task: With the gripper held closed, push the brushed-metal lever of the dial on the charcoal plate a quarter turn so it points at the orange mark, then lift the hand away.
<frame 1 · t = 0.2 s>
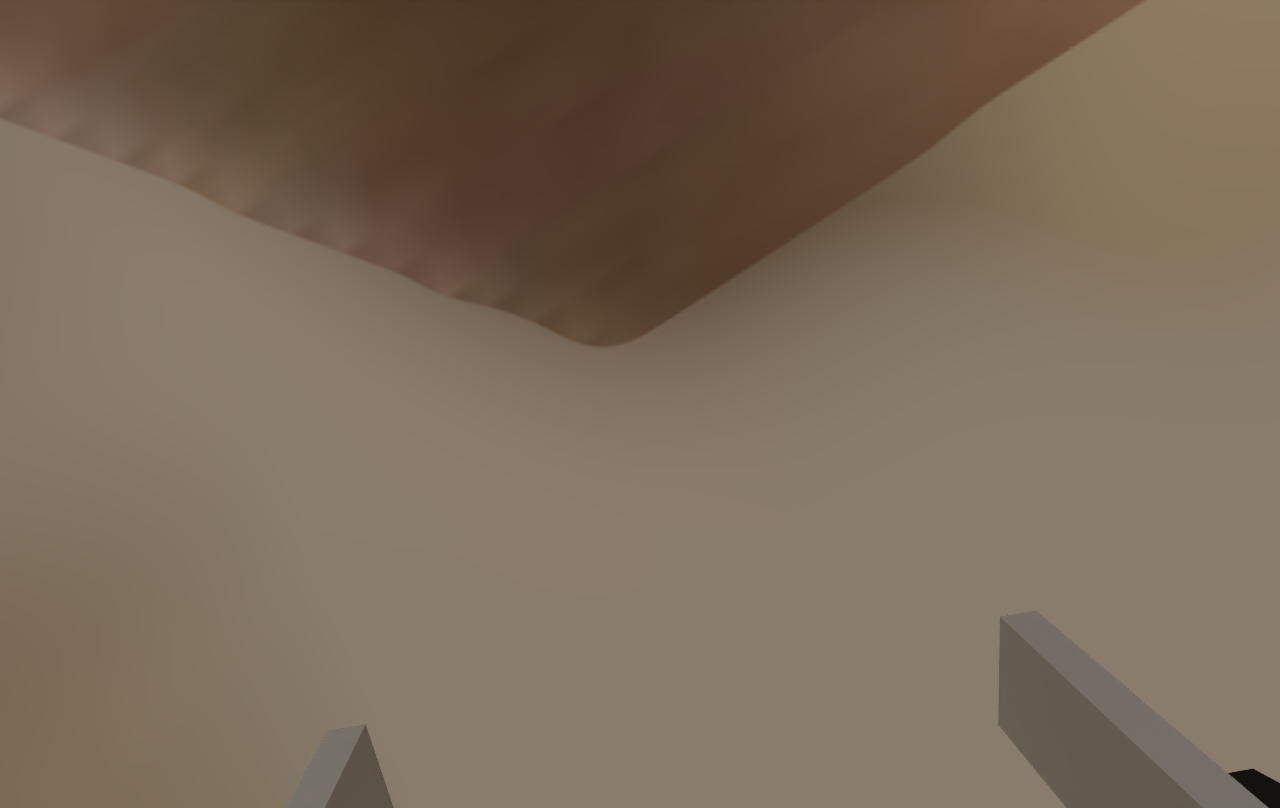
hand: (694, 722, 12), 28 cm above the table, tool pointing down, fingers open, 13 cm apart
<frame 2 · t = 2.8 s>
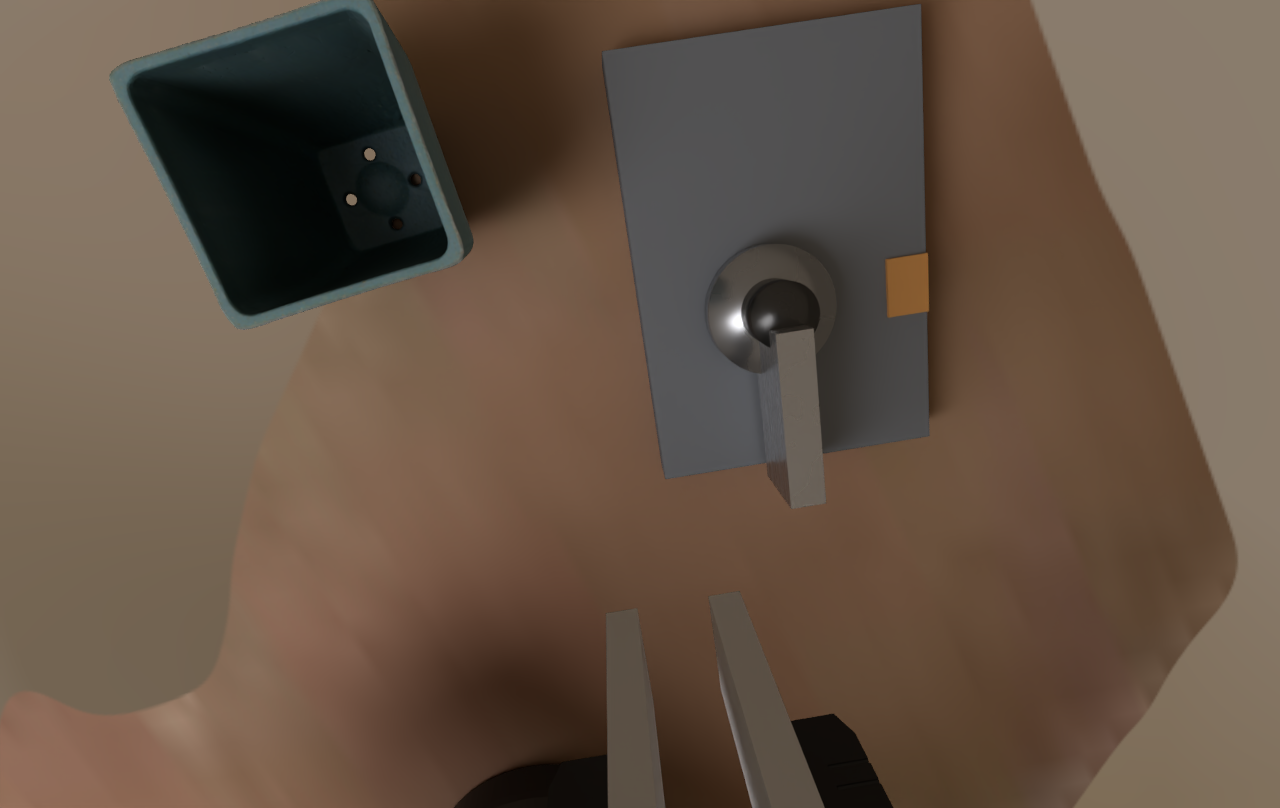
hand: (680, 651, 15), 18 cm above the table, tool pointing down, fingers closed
dial lever: (784, 372, 28), point 4 cm above the table, hinge at 0.0°
flower pot: (389, 192, 29), on the table
dial plate: (770, 261, 30), on the table
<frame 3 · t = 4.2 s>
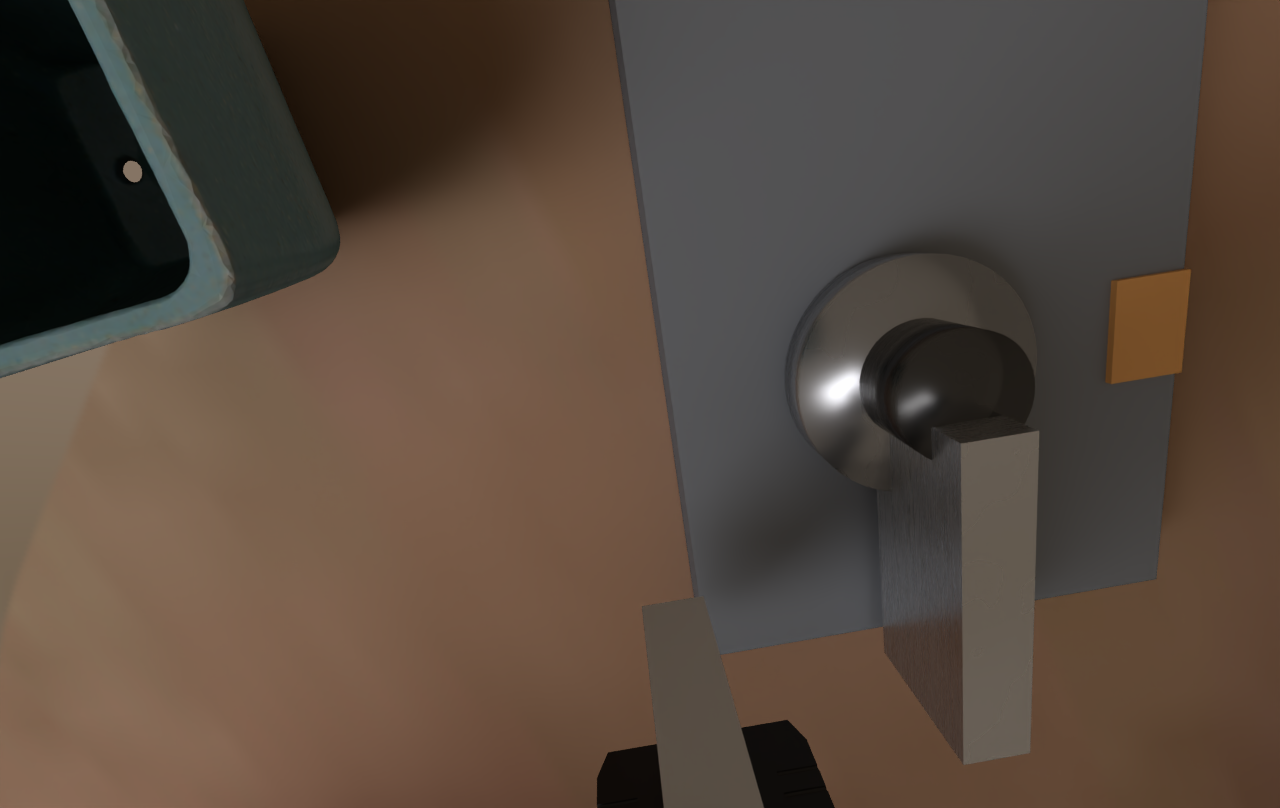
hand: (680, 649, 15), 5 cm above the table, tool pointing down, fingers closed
dial lever: (942, 496, 15), point 4 cm above the table, hinge at 0.0°
flower pot: (208, 158, 16), on the table
dial plate: (890, 282, 18), on the table
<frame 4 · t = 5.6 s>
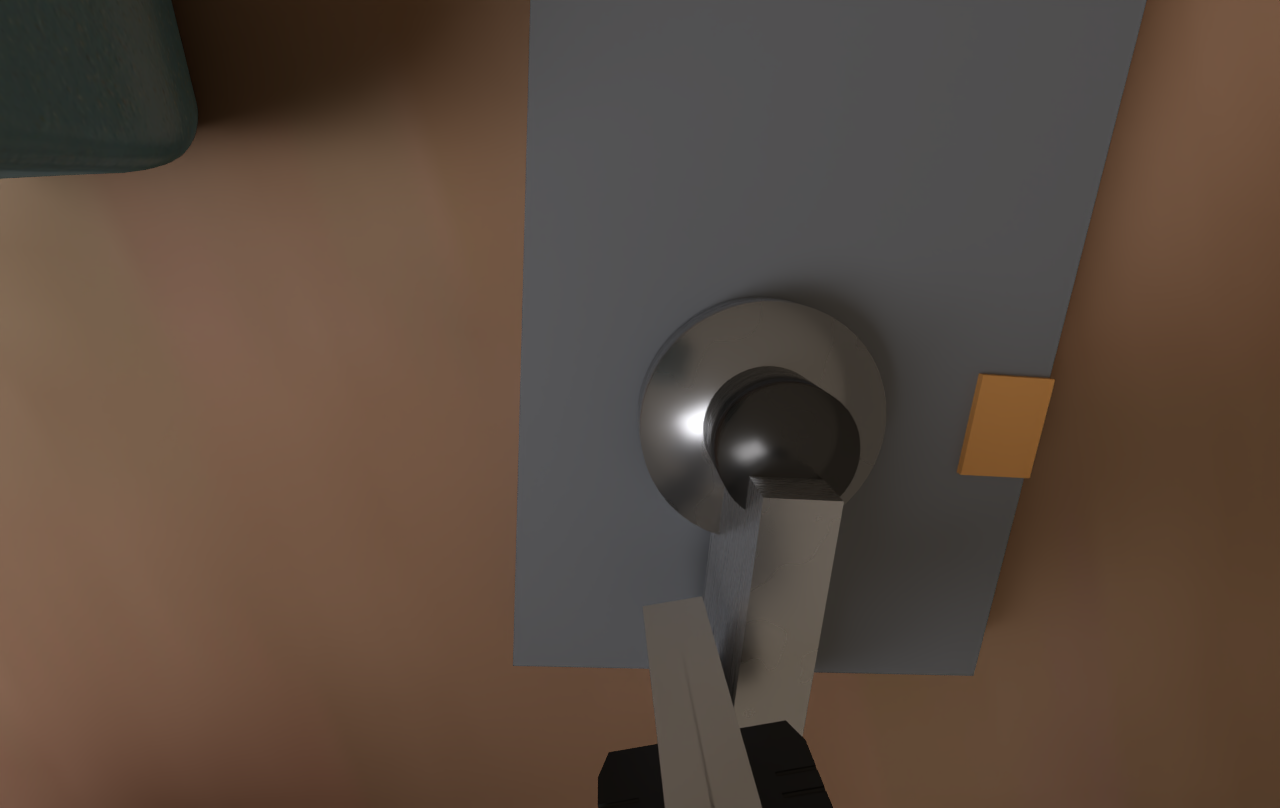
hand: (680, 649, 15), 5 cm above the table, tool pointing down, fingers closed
dial lever: (760, 549, 14), point 4 cm above the table, hinge at 0.0°, touching gripper
flower pot: (81, 29, 15), on the table
dial plate: (776, 327, 17), on the table
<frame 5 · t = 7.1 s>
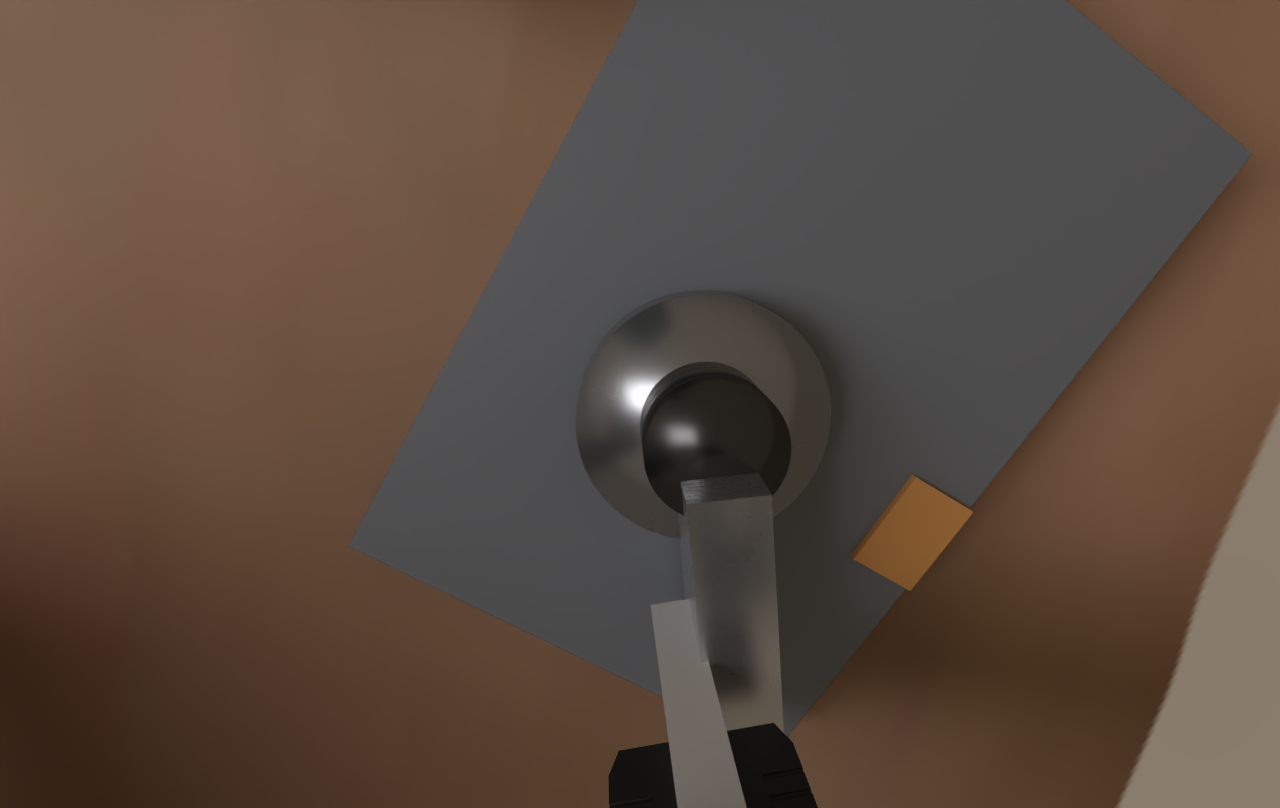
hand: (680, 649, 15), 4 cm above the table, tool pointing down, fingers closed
dial lever: (718, 549, 14), point 4 cm above the table, hinge at 37.3°, touching gripper
dial plate: (754, 348, 17), on the table
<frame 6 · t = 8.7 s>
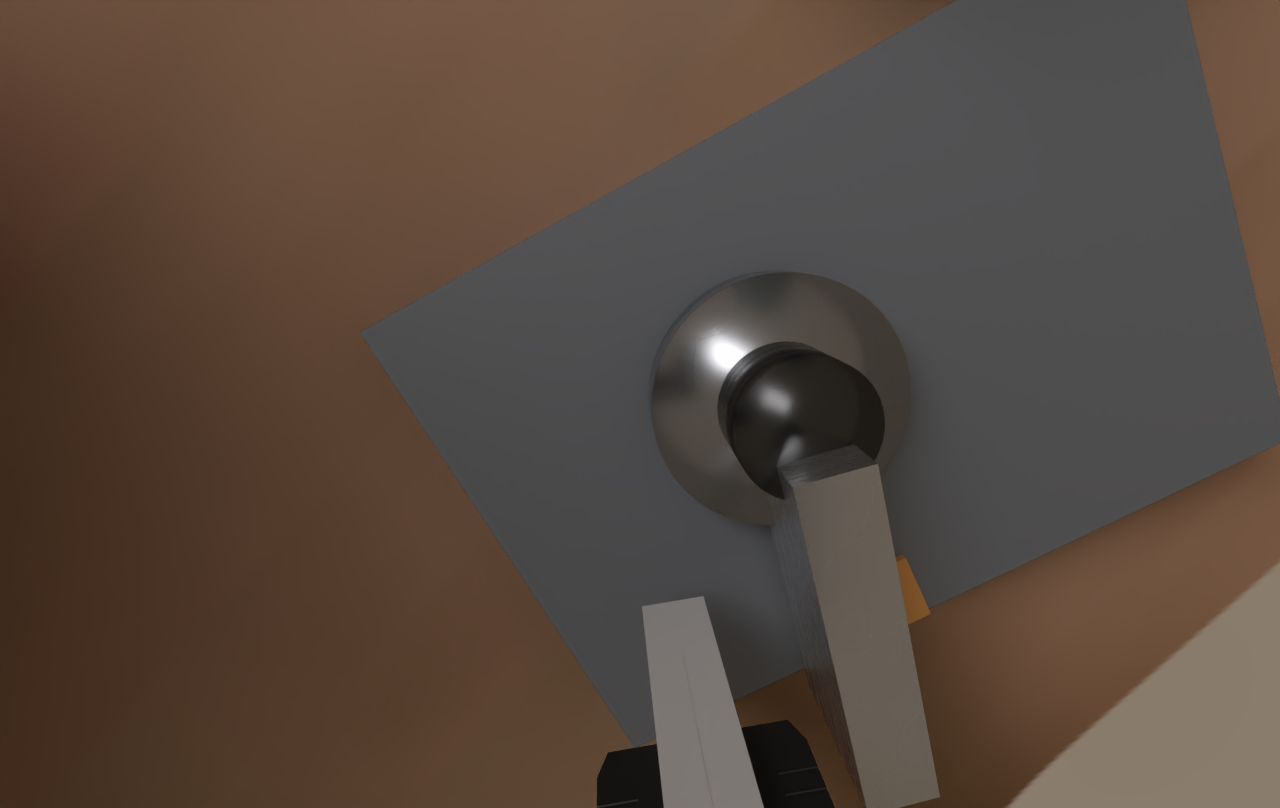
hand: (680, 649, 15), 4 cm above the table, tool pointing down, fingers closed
dial lever: (819, 529, 14), point 4 cm above the table, hinge at 78.0°
dial plate: (826, 372, 17), on the table
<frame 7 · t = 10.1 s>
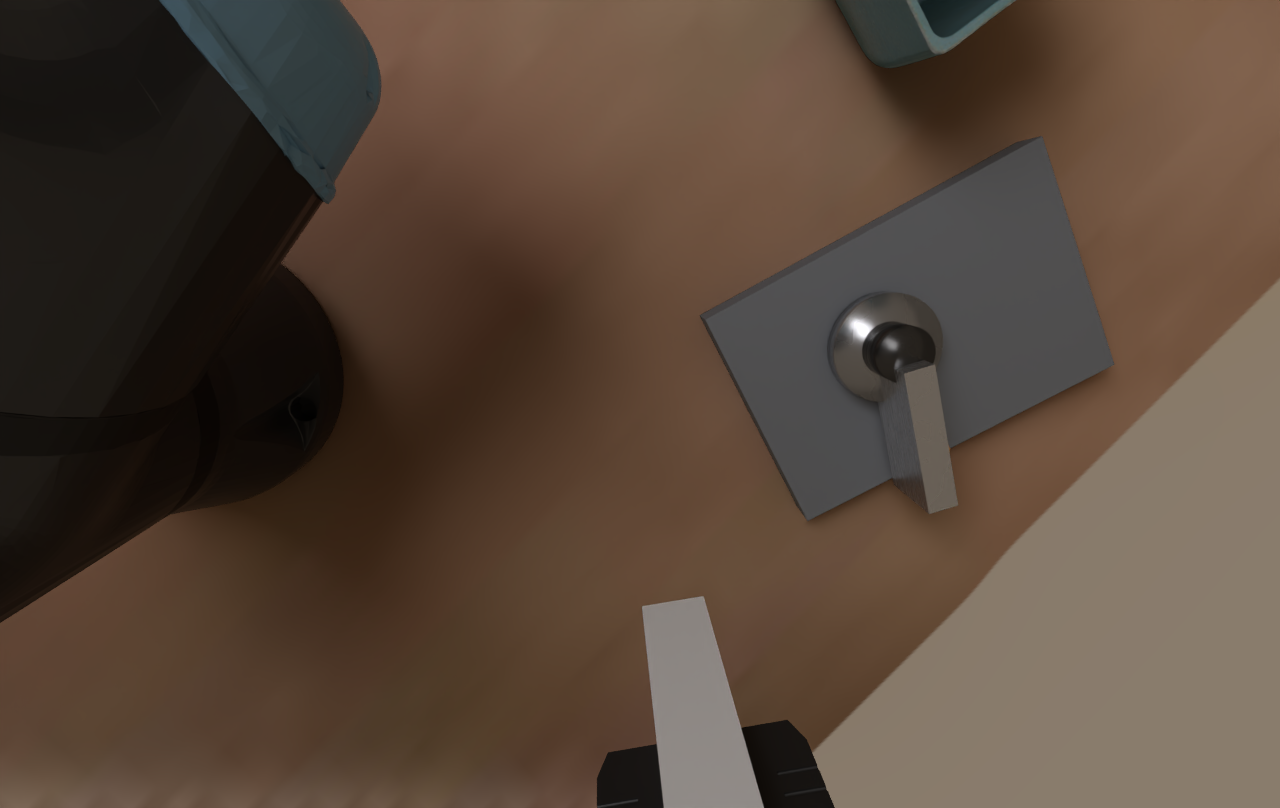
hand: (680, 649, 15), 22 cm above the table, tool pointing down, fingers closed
dial lever: (905, 399, 32), point 4 cm above the table, hinge at 78.1°
dial plate: (899, 337, 36), on the table
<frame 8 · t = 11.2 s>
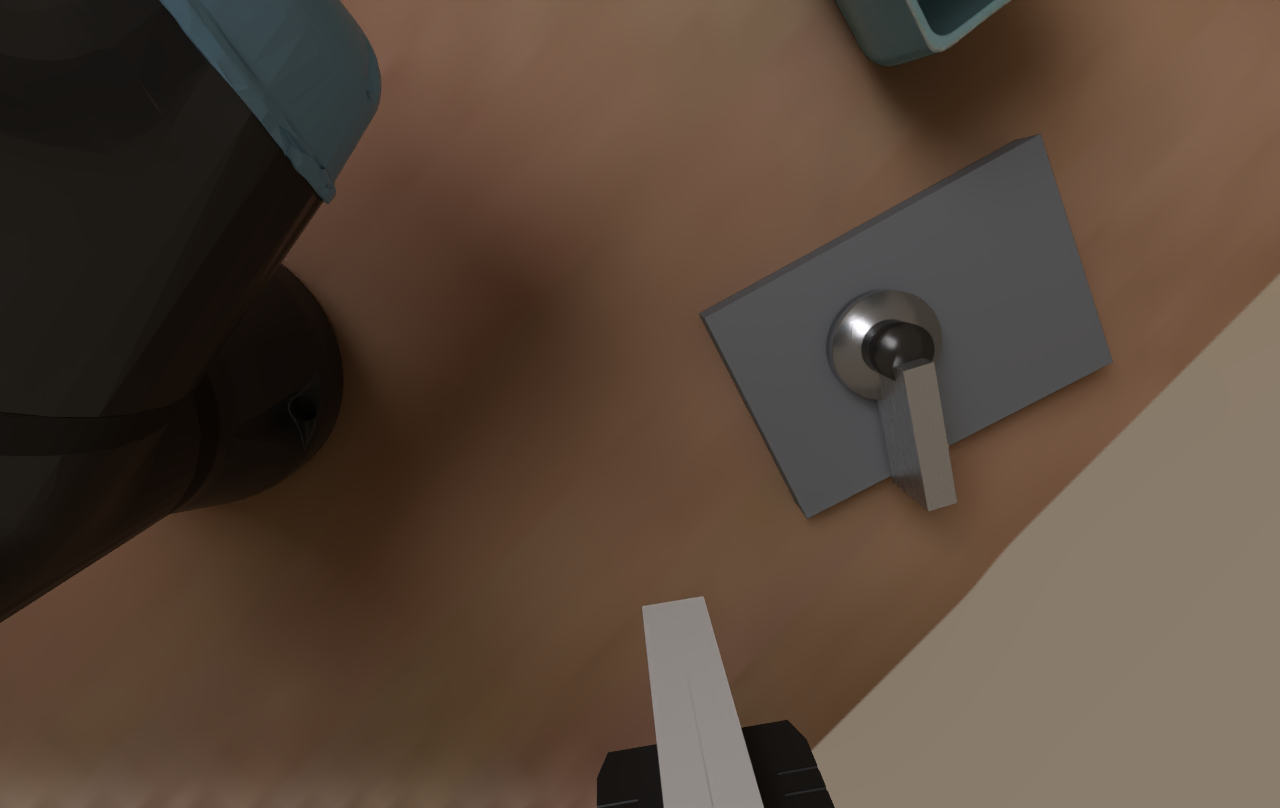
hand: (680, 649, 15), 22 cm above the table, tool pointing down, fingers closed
dial lever: (905, 397, 32), point 4 cm above the table, hinge at 78.1°
dial plate: (898, 335, 36), on the table
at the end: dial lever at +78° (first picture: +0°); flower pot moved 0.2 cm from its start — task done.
